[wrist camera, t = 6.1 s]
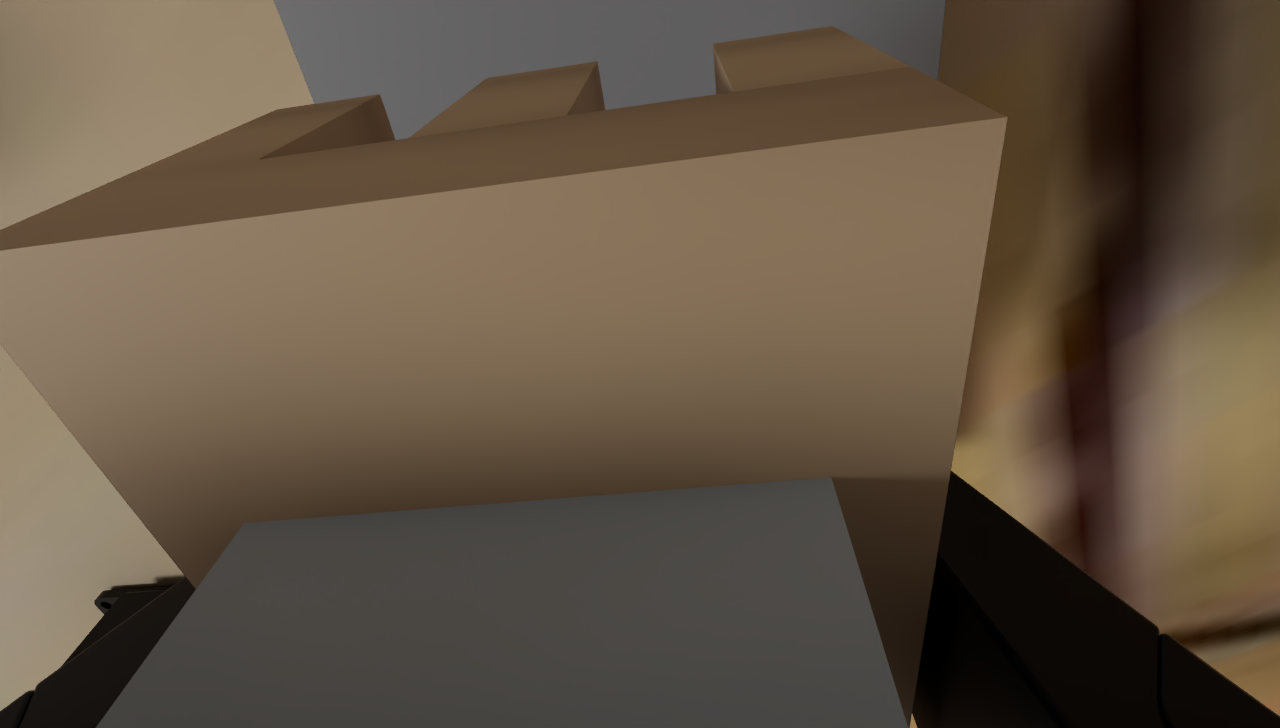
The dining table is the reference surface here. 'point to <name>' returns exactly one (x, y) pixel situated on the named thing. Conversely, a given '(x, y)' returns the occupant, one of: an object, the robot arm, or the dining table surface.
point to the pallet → (535, 305)
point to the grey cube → (532, 619)
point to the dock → (566, 44)
